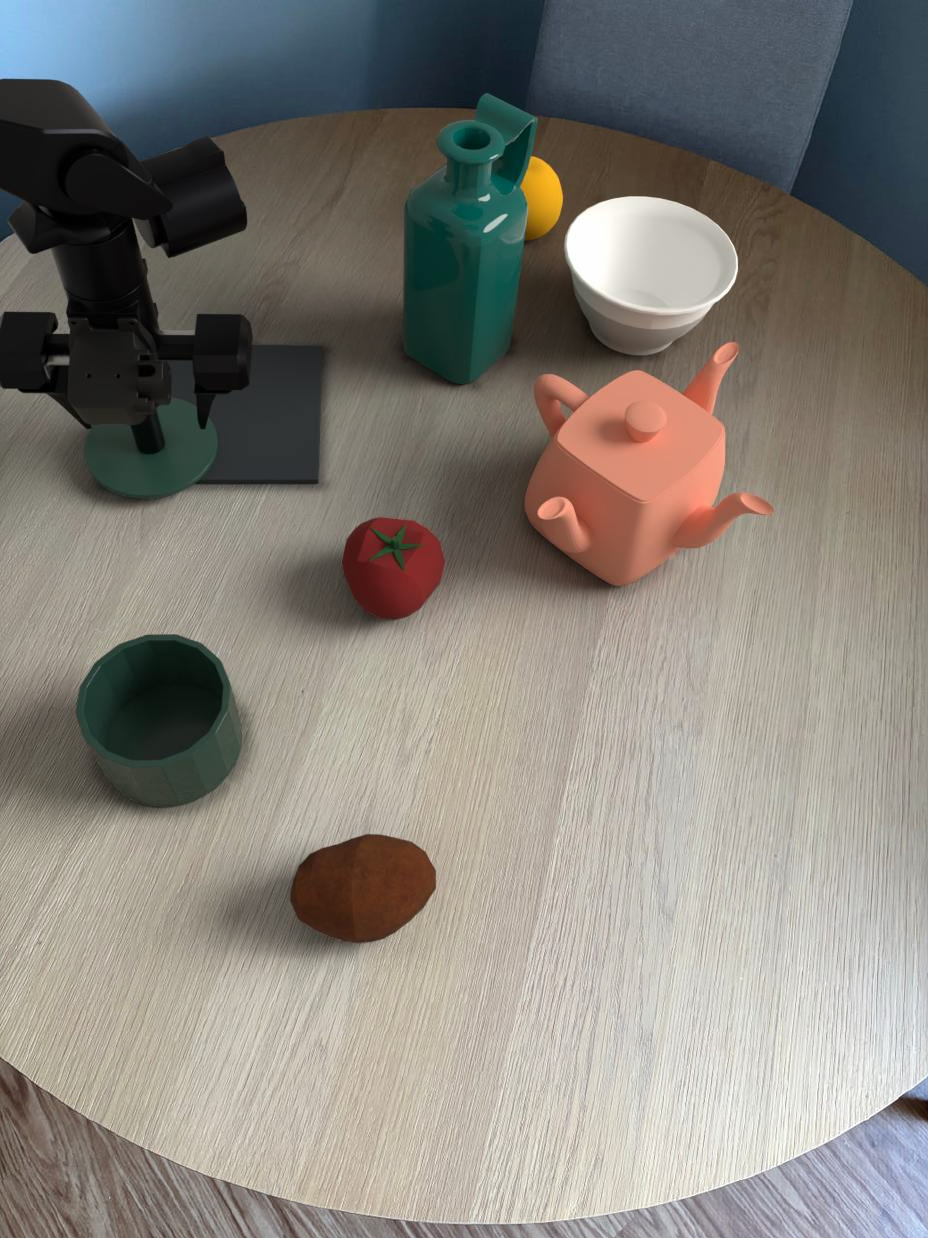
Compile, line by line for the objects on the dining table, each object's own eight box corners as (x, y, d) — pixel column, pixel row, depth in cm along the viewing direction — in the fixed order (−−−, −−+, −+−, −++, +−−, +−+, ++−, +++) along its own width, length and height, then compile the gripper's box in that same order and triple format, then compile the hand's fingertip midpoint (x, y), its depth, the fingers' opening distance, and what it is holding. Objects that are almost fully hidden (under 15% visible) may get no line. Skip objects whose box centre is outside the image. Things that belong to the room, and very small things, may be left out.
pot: (732, 609, 85) (781, 516, 75) (520, 604, 84) (540, 509, 74) (702, 436, 95) (741, 332, 85) (511, 430, 94) (527, 324, 83)
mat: (102, 483, 88) (101, 479, 88) (125, 347, 97) (124, 342, 96) (318, 483, 90) (318, 479, 89) (322, 349, 98) (322, 344, 97)
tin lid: (78, 503, 86) (60, 459, 81) (96, 404, 92) (80, 357, 87) (214, 503, 87) (203, 459, 82) (223, 404, 93) (214, 358, 88)
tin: (92, 809, 73) (66, 768, 67) (110, 682, 78) (87, 634, 73) (237, 805, 74) (224, 765, 68) (245, 680, 79) (234, 633, 73)
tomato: (453, 566, 86) (458, 512, 80) (421, 646, 82) (424, 595, 76) (361, 539, 87) (359, 483, 81) (325, 616, 83) (320, 564, 77)
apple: (568, 247, 108) (579, 183, 101) (494, 257, 106) (501, 192, 100) (544, 198, 112) (554, 133, 105) (473, 207, 110) (478, 142, 104)
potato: (304, 845, 73) (297, 810, 67) (437, 855, 73) (441, 822, 68) (289, 947, 69) (280, 919, 64) (430, 957, 69) (433, 931, 64)
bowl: (705, 273, 107) (728, 200, 100) (722, 387, 98) (749, 317, 91) (550, 263, 106) (561, 189, 99) (553, 377, 98) (566, 306, 91)
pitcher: (465, 393, 96) (483, 183, 77) (393, 350, 98) (394, 135, 80) (526, 336, 100) (557, 123, 82) (456, 296, 103) (471, 80, 84)
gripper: (-59, 354, 69) (13, 502, 82) (230, 357, 70) (255, 502, 83) (-26, 241, 74) (37, 397, 88) (240, 246, 76) (262, 398, 89)
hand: (146, 425), depth 87 cm, fingers open, 9 cm apart
